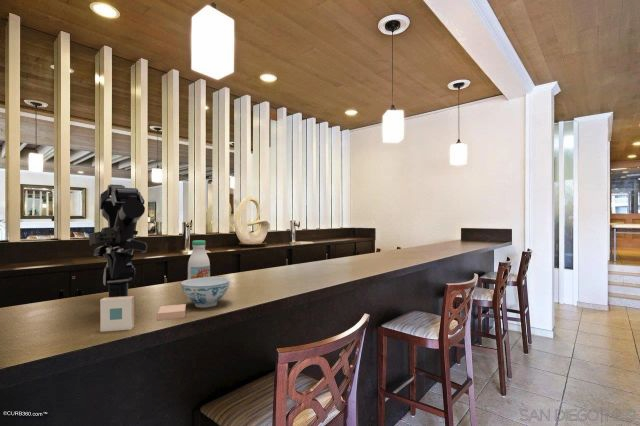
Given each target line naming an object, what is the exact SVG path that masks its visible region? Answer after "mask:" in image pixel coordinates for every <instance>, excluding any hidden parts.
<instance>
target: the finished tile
mask: <svg viewBox="0 0 640 426" xmlns="http://www.w3.org/2000/svg"><path fill="white" fill-rule="evenodd" d="M186 307H187V304H186V303H183V304H171V305H161V306H160V307H159V310H158V312H157V321H167V320H175V319H177V320H178V319H184V318H186V311H187V308H186Z"/></svg>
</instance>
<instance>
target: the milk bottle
mask: <svg viewBox="0 0 640 426" xmlns="http://www.w3.org/2000/svg"><path fill="white" fill-rule="evenodd" d="M206 242H207V241H206V240H202V239H200V240H197V239H196V240H192V243H191V244H192V252H191V255H190V257H189V259H188V261H187V262H188V263H187V280H189V279H195V278H204V277H211V264H210V263H211V262H210V258H209V256H208V254H207V251H206Z"/></svg>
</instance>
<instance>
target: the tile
mask: <svg viewBox="0 0 640 426" xmlns="http://www.w3.org/2000/svg"><path fill="white" fill-rule="evenodd" d="M99 321H100V328H99V329H100V331H99V332H100V333H101V332H115V331H127V330H132V329H134V327H135V296H134V295H131V296H130V295H128V296H125V297H109V296H108V297H103V298H101V299H100V319H99Z"/></svg>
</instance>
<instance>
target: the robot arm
mask: <svg viewBox="0 0 640 426" xmlns="http://www.w3.org/2000/svg"><path fill="white" fill-rule="evenodd" d="M98 204H99V205H98V206H99V210H101V216H102V217H103V218H104V219H105V220H106V221H107V226H106V227H103V228H101V230H100V231H96V232H92V233H89V234H88V240H89V245H90V246H95V245H101V244H102V245H101V246H98V247H96V248H95V249H94V251H93V256H95V257H99V258H104V259H107V263H106V265H105V267H104V270H103V276H102V284H103V285H104V287H105V286H106V287H107V286H108V297H125V296H129V283H131V284H133V283H134V282H135V277H136V272H137V271H136V268H135V266H134V264H133V263H132V260H133V258H135V256H136V255H135V254H133V252H134V251H138V252H139V254H142V253H147V249H148V244H147V243H146V242H145V241H143V240H138V239H134V238H135V236H137V235H138V233H139V231H138V230H136V229H137V223H138V221H139V220H140V219H141V217H142V216H143V215H144V213H145V212H146V207H145V199H144V197H143V195H142V193H141V192H140V191H139V189H138V188H137V187H136V188H135V187H133V188H132V187H125V185H123V184H108V185H107V189H106V190H105V191H103V192H102V193H100V196H99V203H98ZM103 244H104V245H103Z"/></svg>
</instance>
